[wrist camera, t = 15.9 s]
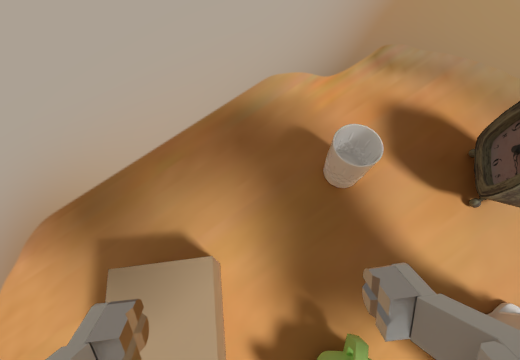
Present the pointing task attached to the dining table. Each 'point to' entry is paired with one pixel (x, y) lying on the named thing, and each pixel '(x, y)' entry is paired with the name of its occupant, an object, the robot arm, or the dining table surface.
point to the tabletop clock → (499, 160)
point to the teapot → (348, 350)
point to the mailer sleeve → (176, 307)
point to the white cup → (352, 155)
